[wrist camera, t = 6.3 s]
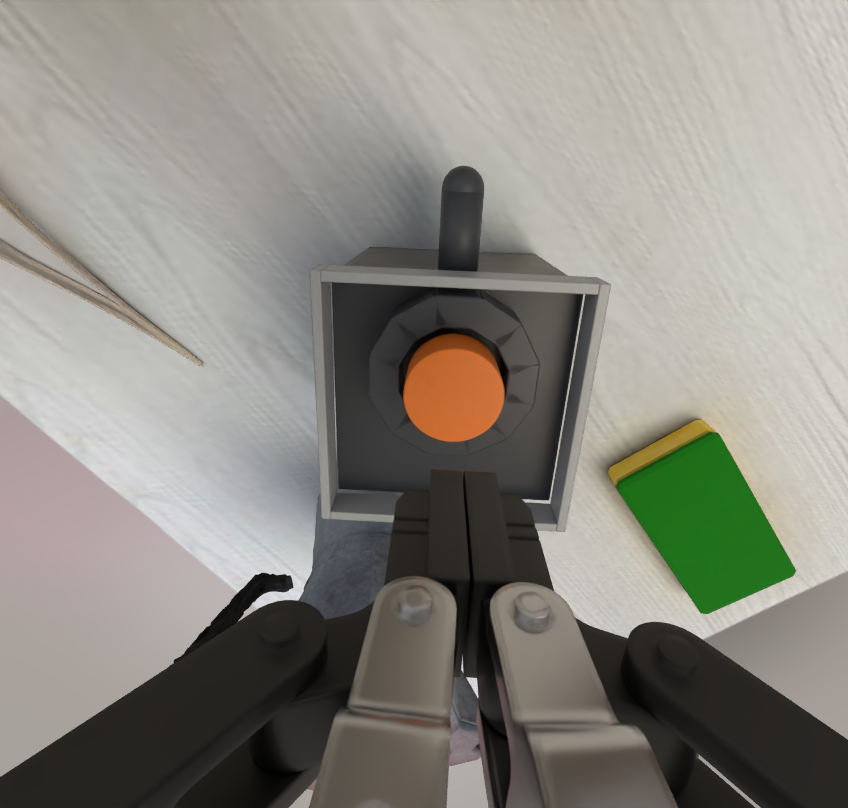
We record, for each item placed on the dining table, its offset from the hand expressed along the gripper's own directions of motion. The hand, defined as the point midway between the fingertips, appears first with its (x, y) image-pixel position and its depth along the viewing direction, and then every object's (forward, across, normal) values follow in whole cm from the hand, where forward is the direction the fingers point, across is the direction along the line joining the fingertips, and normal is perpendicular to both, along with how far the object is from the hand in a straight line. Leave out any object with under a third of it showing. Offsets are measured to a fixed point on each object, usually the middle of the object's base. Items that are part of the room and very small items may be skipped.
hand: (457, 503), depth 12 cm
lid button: (+9, 0, 0) cm, 9 cm away
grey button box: (+21, 0, +2) cm, 21 cm away
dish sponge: (+21, -19, +14) cm, 32 cm away
